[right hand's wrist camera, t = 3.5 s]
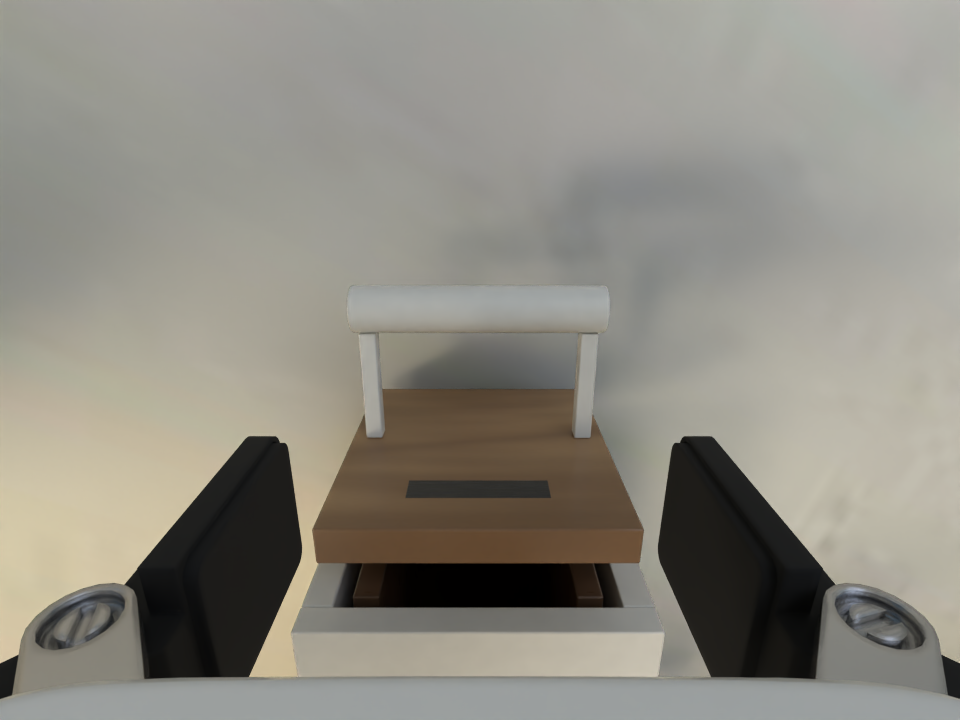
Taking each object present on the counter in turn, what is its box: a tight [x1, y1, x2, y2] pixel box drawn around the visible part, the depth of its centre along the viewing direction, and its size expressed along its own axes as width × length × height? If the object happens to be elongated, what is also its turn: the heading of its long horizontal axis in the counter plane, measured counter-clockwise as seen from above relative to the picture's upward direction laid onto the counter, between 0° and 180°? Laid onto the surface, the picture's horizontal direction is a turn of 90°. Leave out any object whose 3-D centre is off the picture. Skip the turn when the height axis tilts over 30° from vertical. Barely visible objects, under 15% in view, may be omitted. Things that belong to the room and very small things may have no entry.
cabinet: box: [291, 563, 665, 677], centre depth 23 cm, size 17×10×12 cm, turn 0°
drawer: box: [312, 285, 644, 608], centre depth 21 cm, size 22×9×10 cm, turn 0°
